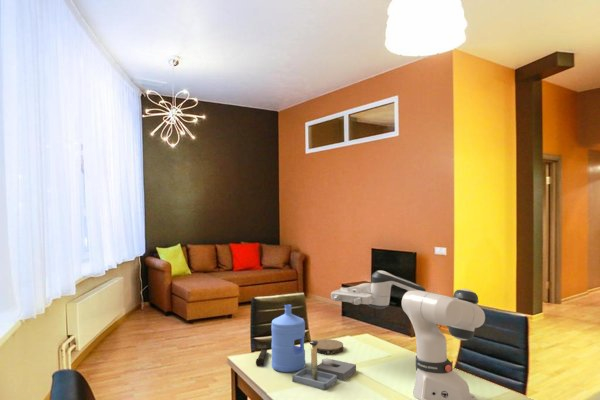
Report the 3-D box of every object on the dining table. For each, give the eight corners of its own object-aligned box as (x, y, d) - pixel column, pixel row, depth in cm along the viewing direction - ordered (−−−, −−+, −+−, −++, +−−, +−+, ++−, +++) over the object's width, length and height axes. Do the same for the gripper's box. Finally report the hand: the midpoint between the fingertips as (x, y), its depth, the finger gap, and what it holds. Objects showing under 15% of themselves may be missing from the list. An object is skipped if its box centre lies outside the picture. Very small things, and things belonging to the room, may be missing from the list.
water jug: (270, 373, 177) (270, 309, 178) (272, 360, 192) (271, 301, 193) (306, 372, 177) (305, 308, 178) (304, 359, 193) (304, 301, 194)
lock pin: (320, 379, 168) (319, 341, 169) (316, 382, 165) (315, 343, 166) (313, 377, 170) (312, 340, 171) (309, 380, 167) (308, 342, 168)
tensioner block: (356, 371, 178) (355, 361, 178) (343, 380, 168) (343, 369, 168) (328, 365, 186) (328, 355, 186) (315, 373, 176) (315, 363, 176)
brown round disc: (311, 345, 215) (311, 339, 215) (340, 344, 216) (340, 338, 216) (314, 355, 199) (313, 349, 199) (345, 354, 200) (345, 348, 200)
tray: (337, 381, 167) (337, 375, 167) (325, 390, 159) (325, 383, 159) (305, 373, 176) (305, 367, 176) (292, 381, 168) (292, 375, 168)
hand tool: (264, 367, 185) (264, 356, 185) (255, 366, 185) (255, 356, 185) (270, 353, 204) (270, 343, 204) (263, 352, 204) (263, 343, 204)
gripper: (377, 304, 191) (365, 310, 180) (339, 299, 202) (325, 304, 191) (376, 290, 191) (364, 295, 180) (338, 286, 203) (325, 291, 191)
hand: (344, 300), depth 186 cm, fingers open, 8 cm apart
